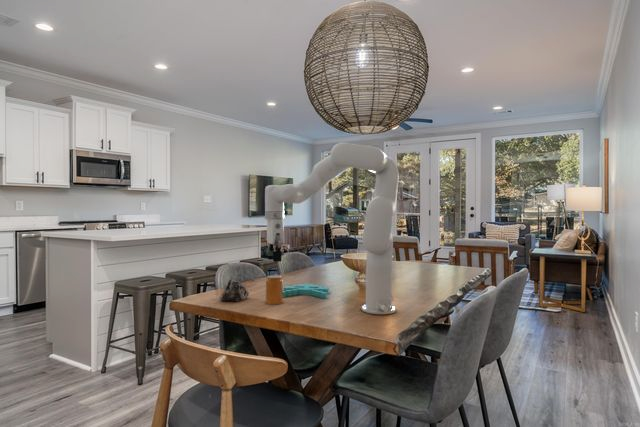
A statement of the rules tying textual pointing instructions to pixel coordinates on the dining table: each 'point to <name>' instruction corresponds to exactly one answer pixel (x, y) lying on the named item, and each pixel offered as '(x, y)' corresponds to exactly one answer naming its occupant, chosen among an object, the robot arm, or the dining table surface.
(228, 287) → the rock
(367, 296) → the robot arm
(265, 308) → the dining table surface
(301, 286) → the alien figure
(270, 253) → the lid
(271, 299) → the jar
